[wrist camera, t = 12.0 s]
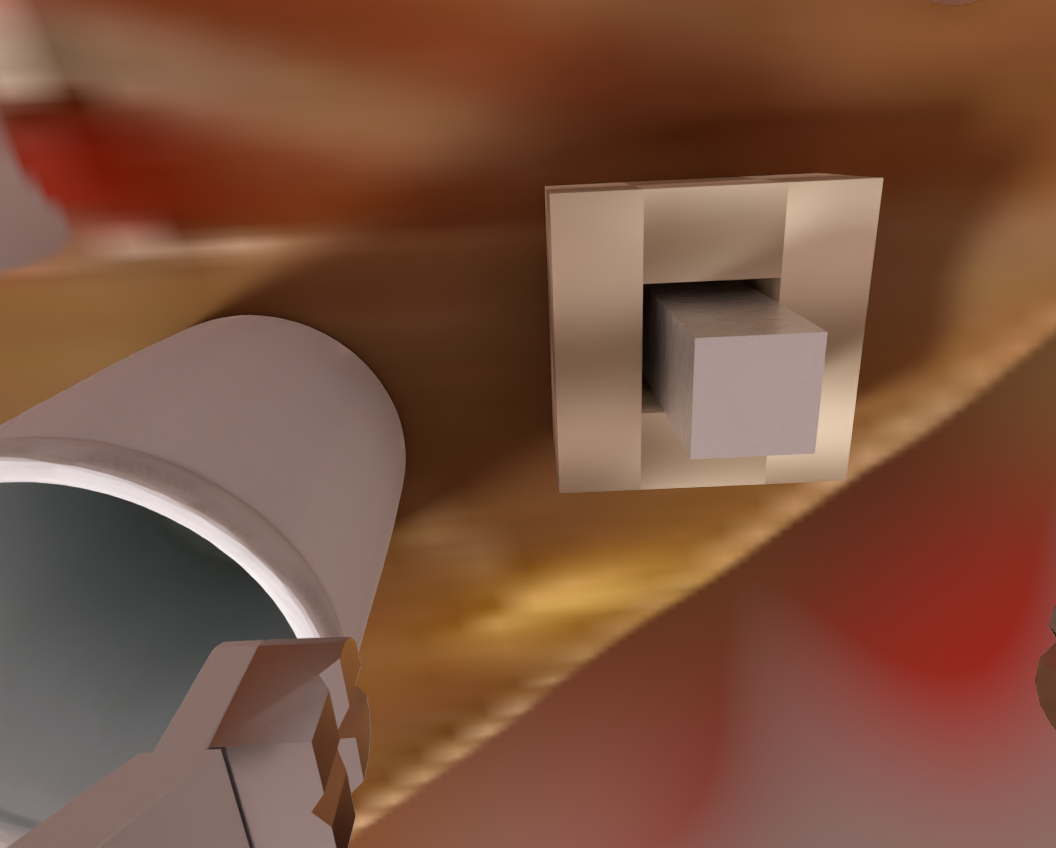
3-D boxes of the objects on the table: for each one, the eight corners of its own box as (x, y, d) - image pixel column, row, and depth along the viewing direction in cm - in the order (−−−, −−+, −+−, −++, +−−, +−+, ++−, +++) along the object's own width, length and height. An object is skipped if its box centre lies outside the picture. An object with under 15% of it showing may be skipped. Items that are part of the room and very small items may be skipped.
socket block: (544, 186, 32) (549, 193, 26) (818, 172, 31) (883, 177, 26) (553, 439, 36) (559, 493, 30) (795, 428, 36) (845, 480, 30)
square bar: (635, 274, 33) (695, 338, 22) (723, 270, 33) (827, 331, 22) (634, 358, 34) (690, 459, 23) (718, 354, 34) (814, 453, 23)
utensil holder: (467, 527, 38) (426, 818, 21) (214, 612, 39) (-4, 943, 23) (343, 258, 33) (165, 366, 16) (61, 369, 34) (-359, 569, 18)
